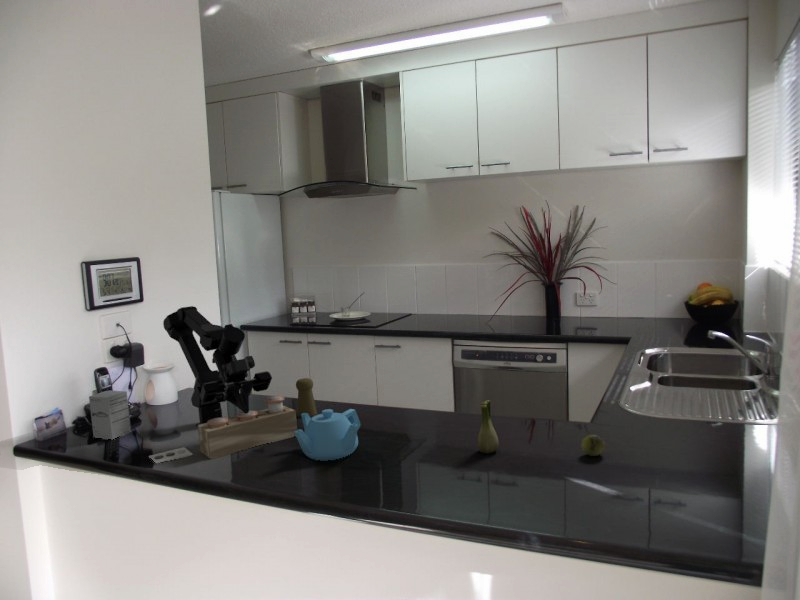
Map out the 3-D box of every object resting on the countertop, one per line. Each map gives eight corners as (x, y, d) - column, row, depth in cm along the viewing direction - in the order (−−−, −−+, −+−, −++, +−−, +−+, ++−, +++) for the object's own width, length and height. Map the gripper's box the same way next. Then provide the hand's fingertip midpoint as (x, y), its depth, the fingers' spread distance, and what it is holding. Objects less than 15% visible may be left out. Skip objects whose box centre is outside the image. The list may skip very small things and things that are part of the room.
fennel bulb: (488, 446, 151) (485, 397, 150) (504, 450, 148) (502, 400, 146) (473, 453, 147) (470, 403, 146) (489, 457, 143) (487, 406, 142)
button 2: (263, 416, 170) (261, 398, 169) (280, 412, 173) (279, 394, 172) (271, 420, 166) (269, 402, 165) (289, 416, 169) (287, 398, 168)
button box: (200, 451, 162) (197, 425, 161) (285, 429, 175) (282, 405, 175) (210, 458, 155) (208, 431, 154) (297, 435, 169) (295, 410, 168)
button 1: (206, 439, 161) (204, 420, 160) (225, 434, 164) (224, 416, 163) (213, 444, 157) (211, 424, 156) (233, 439, 160) (231, 420, 159)
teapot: (360, 461, 147) (357, 417, 146) (296, 466, 146) (292, 422, 145) (362, 440, 162) (358, 400, 161) (303, 445, 161) (300, 404, 160)
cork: (313, 417, 186) (310, 381, 184) (294, 417, 187) (290, 381, 186) (319, 411, 191) (316, 376, 190) (301, 411, 193) (298, 376, 192)
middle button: (236, 431, 166) (234, 413, 165) (254, 427, 169) (252, 409, 168) (243, 436, 161) (241, 417, 161) (262, 431, 164) (260, 413, 164)
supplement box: (92, 439, 179) (87, 396, 177) (113, 431, 185) (108, 389, 184) (112, 440, 176) (106, 397, 174) (132, 432, 183) (127, 390, 181)
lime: (578, 455, 141) (578, 433, 141) (595, 451, 143) (595, 430, 142) (592, 461, 137) (591, 439, 136) (609, 457, 139) (608, 435, 138)
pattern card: (148, 457, 159) (148, 455, 159) (184, 448, 165) (183, 446, 165) (156, 464, 154) (155, 462, 154) (192, 455, 159) (192, 452, 159)
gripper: (199, 353, 162) (218, 402, 154) (266, 342, 172) (287, 387, 165) (192, 378, 169) (210, 426, 161) (257, 366, 180) (277, 411, 172)
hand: (247, 412), depth 164 cm, fingers closed, pressing on middle button
